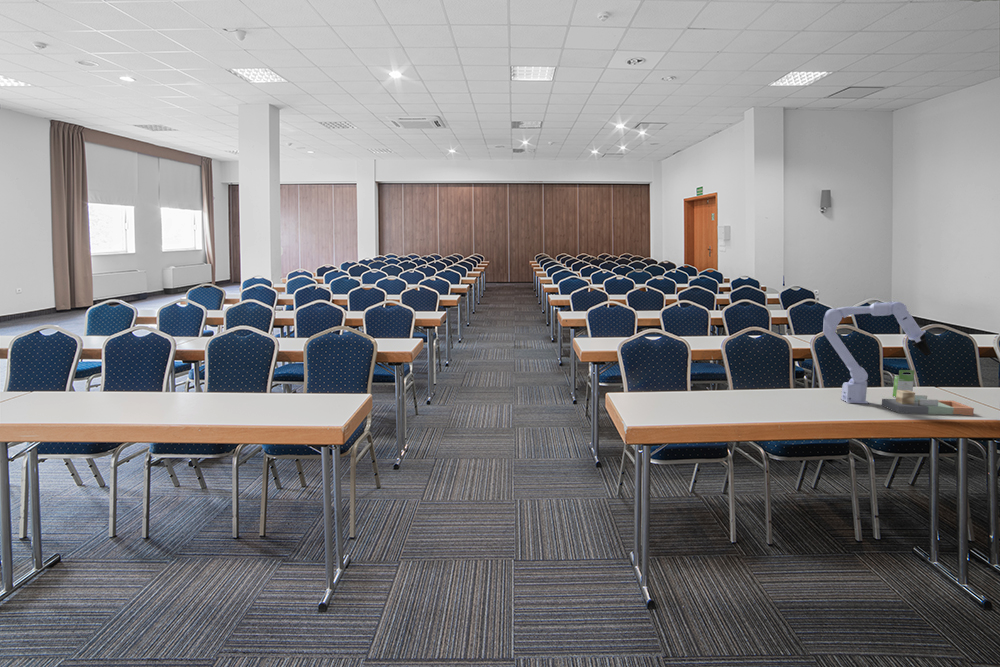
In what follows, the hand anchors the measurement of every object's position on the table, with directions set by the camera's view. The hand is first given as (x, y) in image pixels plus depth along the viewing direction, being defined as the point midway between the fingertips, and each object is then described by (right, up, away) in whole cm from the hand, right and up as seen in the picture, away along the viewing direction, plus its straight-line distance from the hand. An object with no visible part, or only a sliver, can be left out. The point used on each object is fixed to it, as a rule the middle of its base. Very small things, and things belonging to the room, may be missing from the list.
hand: (927, 352), depth 282 cm
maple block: (-11, -21, -1) cm, 24 cm away
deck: (-2, -25, -2) cm, 25 cm away
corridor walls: (-4, -22, -2) cm, 22 cm away
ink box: (+3, -22, +23) cm, 32 cm away
